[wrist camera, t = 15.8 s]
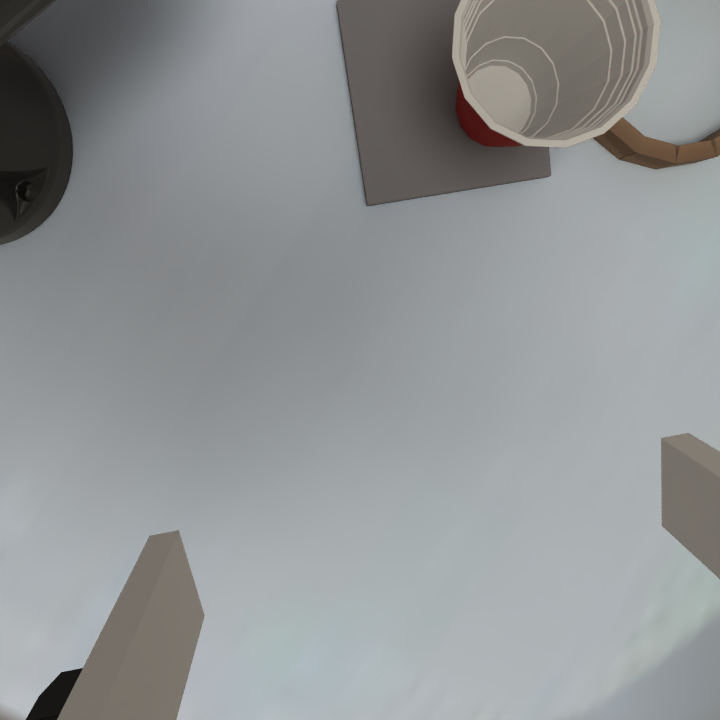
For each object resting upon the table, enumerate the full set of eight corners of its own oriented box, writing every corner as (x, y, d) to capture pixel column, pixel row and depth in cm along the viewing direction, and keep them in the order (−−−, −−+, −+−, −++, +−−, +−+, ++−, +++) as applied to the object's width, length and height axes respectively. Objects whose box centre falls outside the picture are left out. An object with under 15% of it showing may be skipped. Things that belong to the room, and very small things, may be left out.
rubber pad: (367, 206, 41) (367, 205, 40) (336, 5, 38) (336, 0, 38) (547, 177, 41) (551, 175, 41) (528, -24, 39) (532, -30, 38)
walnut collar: (577, 181, 41) (602, 173, 38) (556, -78, 38) (581, -116, 34) (772, 150, 42) (817, 138, 38) (768, -110, 38) (817, -153, 34)
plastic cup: (480, -12, 38) (546, -134, 26) (594, 88, 40) (704, 14, 28) (388, 119, 39) (411, 58, 27) (502, 210, 41) (570, 190, 29)
